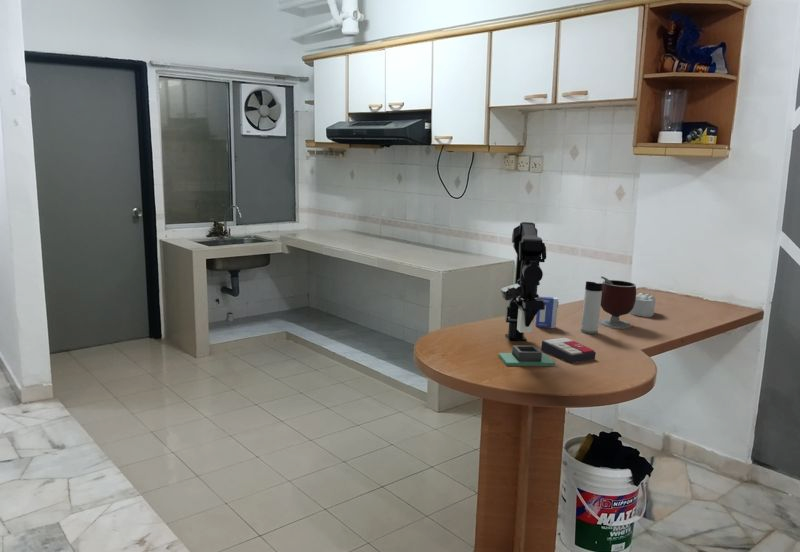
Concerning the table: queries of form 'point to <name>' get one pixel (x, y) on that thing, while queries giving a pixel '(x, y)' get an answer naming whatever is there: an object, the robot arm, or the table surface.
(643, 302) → the lumpy-topped squat cylinder
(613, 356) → the table surface
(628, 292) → the mate gourd
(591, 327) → the travel mug
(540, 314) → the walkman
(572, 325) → the table surface
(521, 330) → the plug
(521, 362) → the board
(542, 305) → the robot arm
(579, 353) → the dark panelled flat block
